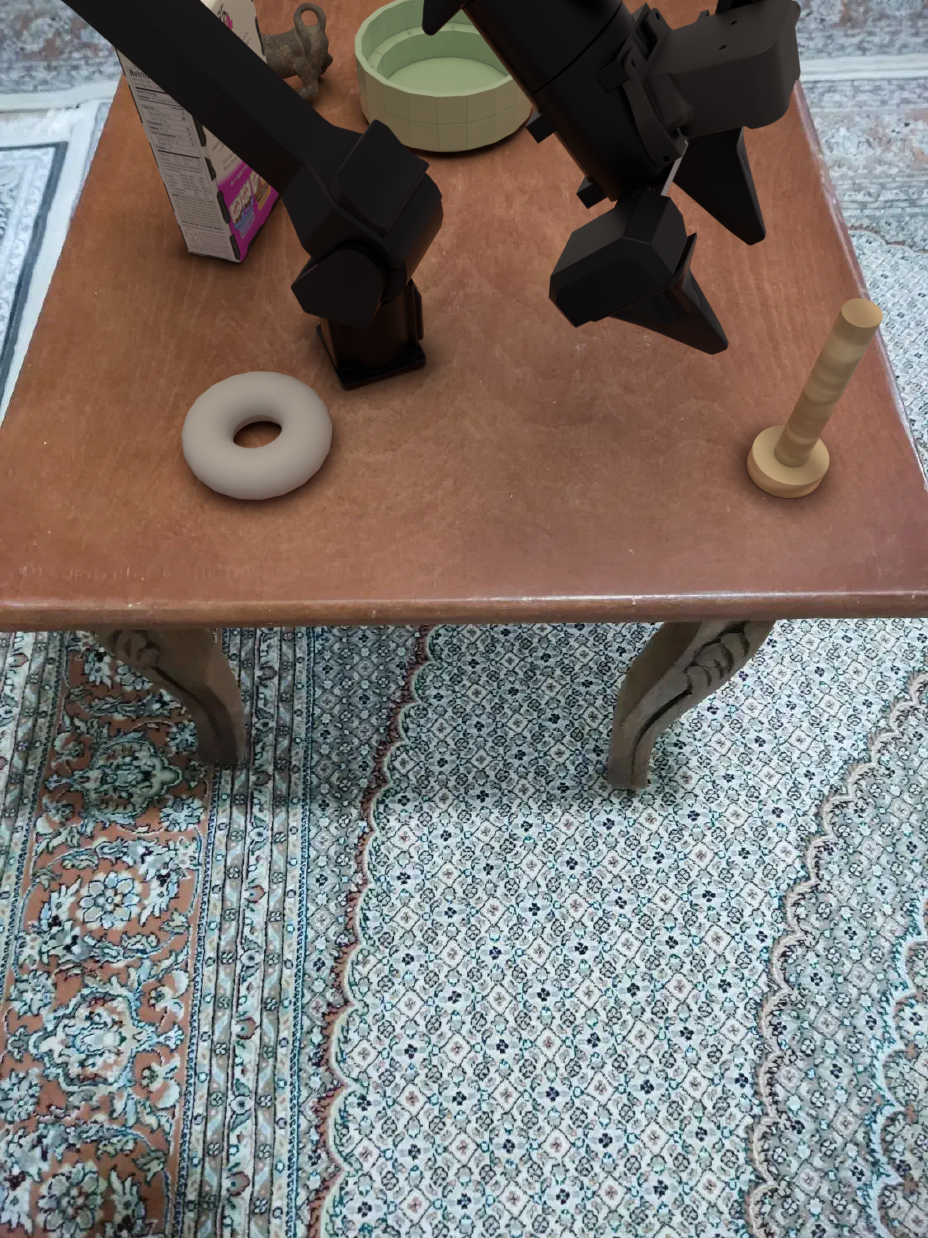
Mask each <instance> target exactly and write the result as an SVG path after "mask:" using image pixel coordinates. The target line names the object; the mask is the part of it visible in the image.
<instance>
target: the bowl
mask: <svg viewBox="0 0 928 1238" xmlns="http://www.w3.org/2000/svg"><path fill="white" fill-rule="evenodd" d="M423 3H424V0H394V1H392V2H389V3H387V4H385V5H383V6H380V7H379V8H377V9H376V10H375V11H374V12H372V13H371V14H370V15H369V16H368V17H367V18H365V19H364V20H363V21H362V23H361V25H360V27H359V28H358V30H357V32H356V34H355V36H354V58H355V67H356V74H357V75H356V76H357V84H358V92H359V93H358V94H359V101H360V102H359V103H360V109H361V112H362V113H363V115H364V117H365V118H366V120H367V122H368V124H370V123H371V122H372V121H373V120H375V119H377V120H379V121H380V122H382V123H384V124H385V125H387V126H388V127H389V128H390V129H391V130H392V132H393V133H394V134H395V136H396V137H397V138H398V139H399V141H400V142H401V143H402V144H403V145H404V146H405V147H408V148H412V149H417V150H422V151H427V152H433V153H434V152H435V153H458V152H466V151H470V150H475V149H479V148H482V147H485V146H488V145H492V144H494V143H497V142H499V141H500V140H502V139H504V138H506V137H508V136H509V135H512V134H513V133H515V132H516V131H517V130H518V129H520V127H521V126H522V125H523V124H524V123H525V121H527V119H529V117H530V114H531V111H532V109H533V107H534V106H533V105H532V104H531V102H530V101H529V100H528V98H527V97H526V96H525V93H523V92H522V90H521V89H520V87H519V86H518V85H517V83H516V82H515V81H514V79H513V78H512V77H511V75H510V74H509V73H508V71H507V70H506V69H505V67H504V66H503V64H502V63H501V62H500V60H499V59H498V58H497V56H496V55H495V54H494V52H493V51H492V50H491V48H490V47H489V46H488V44H487V43H486V42H485V40H484V39H483V37H482V36H481V35H480V33H479V32H478V31H477V29H476V28H475V27H474V25H473V24H472V23H471V21H470V20H469V19H468V17H467V16H466V14H465V13H464V12H463V10H462V9H461V10H460V11H459V12H458V13H457V14H456V15H455V16H454V17H453V18H452V19H451V20H449V21H448V22H447V23H446V24H445V25H444V26H443V27H442V28H441V29H440V30H439V31H438V32H437V33H436V34H435V35H433V36H429V35H427V34H425V33H424V31H423V29H422V17H423Z"/></svg>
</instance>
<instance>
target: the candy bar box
mask: <svg viewBox="0 0 928 1238" xmlns="http://www.w3.org/2000/svg"><path fill="white" fill-rule="evenodd" d="M201 1H202V2H203V3H204V4H205V5H206V6H207V7H208V8H209V9H210V10H211V11H212V12H213V13H214V14H215V15H216V16H217V17H218V18H219V19H220V20H222V21H223V22H224V23H225V24H226V25H227V26H228V27H229V28H230V29H231V30H232V31H233V32H234V33H235V34H236V35H237V36H238V37H239V38H240V39H241V40H243V41H244V42H245V43H246V44H247V45H248V46H249V47H250V48H251V49H252V50H253V51H254V52H255V53H256V54H257V55H258V56H259V57H260V58H261V59H262V60H263V61H265V62H266V63H267V61H266V57H265V51H264V48H263V43H262V38H261V34H260V33H261V30H260V25H259V21H258V15H257V11H256V6H255V2H254V1H255V0H201ZM113 48H114V50H115V54H116V56H117V59H118V62H119V65H120V68H121V70H122V72H123V75H124V79H125V81H126V84H127V86H128V90H129V92H130V96H131V98H132V100H133V103H134V106H135V109H136V111H137V114H138V117H139V121H140V123H141V127H142V128H143V131H144V134H145V136H146V139H147V143H148V144H149V146H150V150H151V152H152V157H153V158H154V160H155V164H156V167H157V170H158V174H159V176H160V179H161V180H162V184H163V186H164V189H165V192H166V195H167V197H168V200H169V203H170V205H171V208H172V209H171V210H172V212H173V214H174V218H175V221H176V222H177V225H178V229H179V231H180V234H181V236H182V239H183V242H184V245H185V247H186V250H187V253H190V254H193V255H197V256H199V257H206V258H207V257H208V258H213V259H218V260H223V261H227V262H233V263H239V264H241V263H242V262H243V261H244V260H245V257H246V256H247V254H248V252H249V251H250V249H251V247H252V245H253V243H254V242H255V240H256V238H257V237H258V235H259V233H260V231H261V229H262V227H263V226H264V224H265V222H266V221H267V219H268V217H269V215H270V213H271V212H272V210H273V208H274V206H275V205H276V203H277V201H278V199H280V197H281V196H280V195H279V194H278V193H277V192H276V190H275V189H274V188H273V187H271V186H270V185H269V184H268V183H267V182H266V181H265V180H264V179H262V178H261V177H260V176H259V175H258V174H257V173H256V172H255V171H253V170H252V169H251V168H250V167H249V166H248V165H247V164H246V163H244V162H243V161H242V160H241V159H240V158H239V157H238V156H237V155H235V154H234V153H233V152H232V151H231V150H230V149H229V148H228V147H226V146H225V145H224V144H223V143H222V142H221V141H220V140H218V139H217V138H216V137H215V136H214V135H213V134H212V133H211V132H209V131H208V130H207V129H206V128H205V127H204V126H203V125H202V124H200V123H199V122H198V121H197V120H196V119H195V118H194V117H193V116H191V115H190V114H189V113H188V112H187V111H186V110H185V109H184V108H182V107H181V106H180V105H179V104H178V103H177V102H176V101H175V100H173V99H172V98H171V97H170V96H169V95H168V94H167V93H166V92H164V91H163V90H162V89H161V88H160V87H159V86H158V85H157V84H155V83H154V82H153V81H152V80H151V79H150V78H149V77H148V76H146V75H145V74H144V73H143V72H142V71H141V70H140V69H139V68H137V67H136V66H135V65H134V64H133V63H132V62H131V61H130V60H128V59H127V58H126V57H125V56H124V55H123V54H122V53H121V52H119V51H118V50H117V49H116V48H115V47H114V46H113Z"/></svg>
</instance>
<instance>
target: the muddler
mask: <svg viewBox="0 0 928 1238" xmlns="http://www.w3.org/2000/svg"><path fill="white" fill-rule="evenodd" d="M883 319H884V313H883V311H882V309H881V307H880V305H878V304H876V303H875V302H873V301H872V300H868V299H867V298H866V299H865V298H861V297H860V298H859V297H858V298H851V299H849V300H847V301H845V302H844V303H843V304H842V305H841V308H840V310H839V312H838V314H837V316H836V318H835V320H834V322H833V324H832V327H831V329H830V331H829V333H828V335H827V337H826V339H825V341H824V343H823V345H822V347H821V349H820V351H819V354H818V356H817V358H816V360H815V362H814V364H813V366H812V369H811V371H810V373H809V375H808V377H807V379H806V382H805V383H804V386H803V388H802V390H801V392H800V394H799V396H798V398H797V400H796V403H795V404H794V406H793V409H792V410H791V413H790V415H789V416H788V417H789V418H788V419H787V421H786V424H779V425H773V426H770V427H767V428H766V429H764V430H762V431H761V432H760V433H759V434H758V435H756V437H755V439H754V440H753V444H752V445H751V447H750V449H749V453H748V454H747V457H746V470H747V473H748V476H749V477H750V479H751V481H752V482H753V483H754V484H755V485H756V486H757V487H758V488H759V489H760V490H762V491H764V492H765V493H767V494H770V495H771V496H774V497H778V498H781V499H783V498H784V499H798V498H802V497H805V496H807V495H810V494H811V493H812V492H813V491H815V490H817V488H818V487H819V485H820V484H821V482H822V480H823V479H824V476H825V475H826V473H827V471H828V469H829V466H830V454H829V451H828V449H827V446H826V445H825V443H824V442H823V441H822V440H821V439H820V437H821V435H822V434H823V432H824V430H825V428H826V426H827V424H828V423H829V421H830V418H831V417H832V414H833V413H834V411H835V410H836V408H837V405H838V404H839V402H840V400H841V398H842V396H843V395H844V392H845V390H846V389H847V387H848V385H849V383H850V381H851V380H852V378H853V376H854V374H855V372H856V370H857V368H858V366H859V364H860V363H861V361H862V359H863V357H864V355H865V353H866V352H867V350H868V348H869V346H870V344H871V343H872V341H873V339H874V336H875V334H876V333H877V331H878V329H879V328H880V325H881V324H882V321H883Z"/></svg>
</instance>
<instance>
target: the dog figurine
mask: <svg viewBox="0 0 928 1238" xmlns="http://www.w3.org/2000/svg"><path fill="white" fill-rule="evenodd" d="M308 11H310V12H313V13H314V14H315V16H316V19H317V21H316V24H314V25H309V24H305V23H304V21H303V18H302V16H303V14H304V13H305V12H308ZM293 23H294V26H293V27H292V28H291V29H289V30H287V31H284V32H280V33H277V34H266V33H262V32H260V34H261V38H262V43H263V48H264V51H265V57H266V61H267V64H268V65H269V66H270V67H271V68H272V69H273V70H274V71H275V72H276V73H277V74H278V75H279V76H280V77H281V78H282V79H283V80H286V79H289V78H293V77H295V76H297V77H298V78H299V79H300V81H301V82H302V86H301V88H299V89H298V90H295V91H296V92H297V93H298V94H299V95H300V96H301V97H302V98H303V99H304V100H305V101H306V102H308V101H310V100H313V99H315V98H317V96H318V95H319V91H320V89H319V83H318V81H319V78H320V77H321V76H323V75H324V74H325V73H326V72H327V70H328V68H329V67H330V66H331V65H332V64H333V61H334V56H332V54H330V53H329V51H328V50H329V47H330V42H329V38H328V36H327V33H326V27H327V16H326V13H325V11H324V9H323V8H322V7H321V6H319V5H318V4H316V3H312V2H303V3H301V4H300V5H299V6H298V7H297V8H296V10H295V11H294V14H293Z"/></svg>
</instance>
